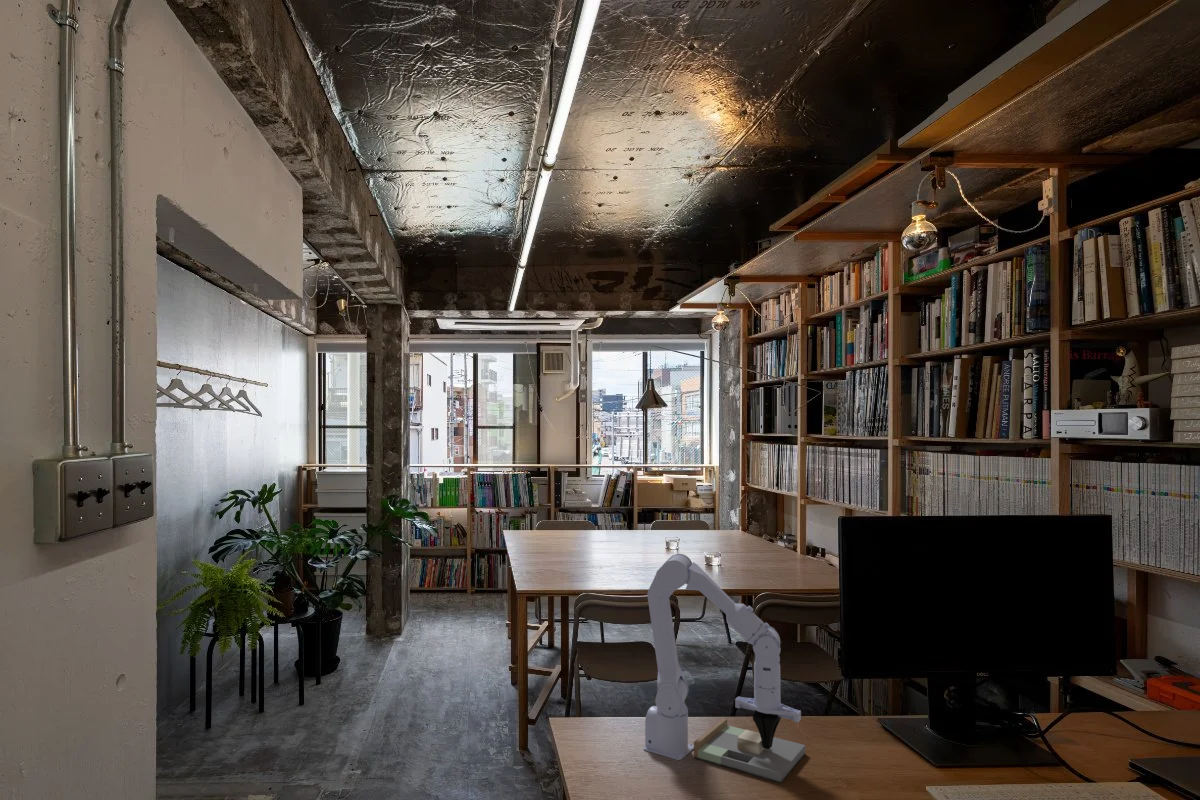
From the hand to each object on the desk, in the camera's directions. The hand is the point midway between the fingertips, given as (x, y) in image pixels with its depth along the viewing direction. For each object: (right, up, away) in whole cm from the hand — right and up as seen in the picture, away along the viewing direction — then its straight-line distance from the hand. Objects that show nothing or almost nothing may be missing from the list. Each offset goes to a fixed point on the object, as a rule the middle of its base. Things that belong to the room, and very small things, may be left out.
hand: (767, 746), depth 155 cm
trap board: (-3, -3, +2) cm, 5 cm away
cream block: (-3, -1, +2) cm, 4 cm away
